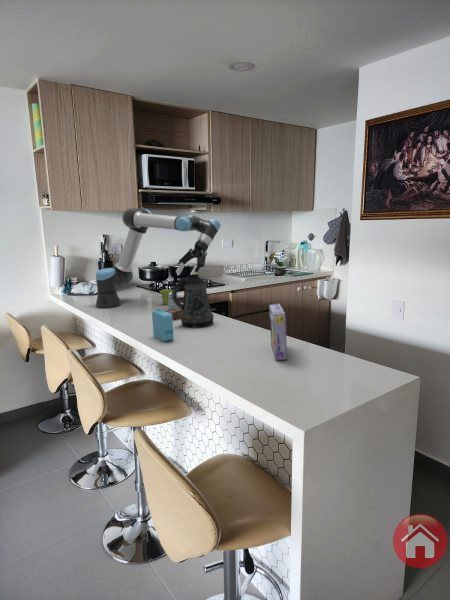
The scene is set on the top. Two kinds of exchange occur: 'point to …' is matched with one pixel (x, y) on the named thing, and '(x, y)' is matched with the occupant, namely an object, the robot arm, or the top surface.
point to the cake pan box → (278, 331)
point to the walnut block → (174, 313)
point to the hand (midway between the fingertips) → (184, 274)
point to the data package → (162, 325)
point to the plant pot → (165, 296)
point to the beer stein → (193, 302)
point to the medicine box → (172, 302)
